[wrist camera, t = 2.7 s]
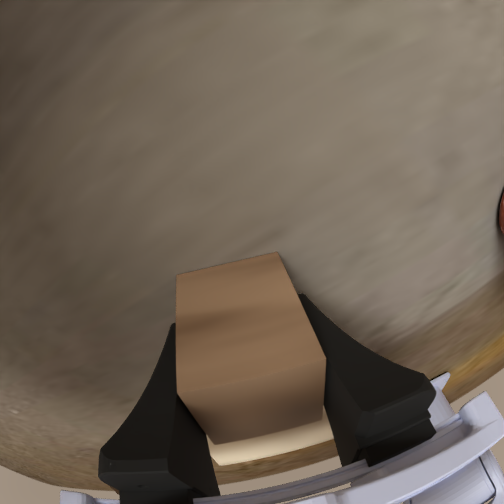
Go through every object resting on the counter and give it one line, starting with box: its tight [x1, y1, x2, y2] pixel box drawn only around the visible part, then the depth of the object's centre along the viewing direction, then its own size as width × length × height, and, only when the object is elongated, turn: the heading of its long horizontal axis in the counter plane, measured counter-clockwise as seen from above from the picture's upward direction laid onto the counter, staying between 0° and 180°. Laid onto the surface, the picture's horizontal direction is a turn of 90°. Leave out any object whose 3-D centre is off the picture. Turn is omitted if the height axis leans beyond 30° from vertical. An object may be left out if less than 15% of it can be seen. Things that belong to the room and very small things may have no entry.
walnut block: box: [176, 252, 326, 445], centre depth 12 cm, size 4×4×6 cm
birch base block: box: [206, 405, 334, 466], centre depth 19 cm, size 9×9×3 cm
